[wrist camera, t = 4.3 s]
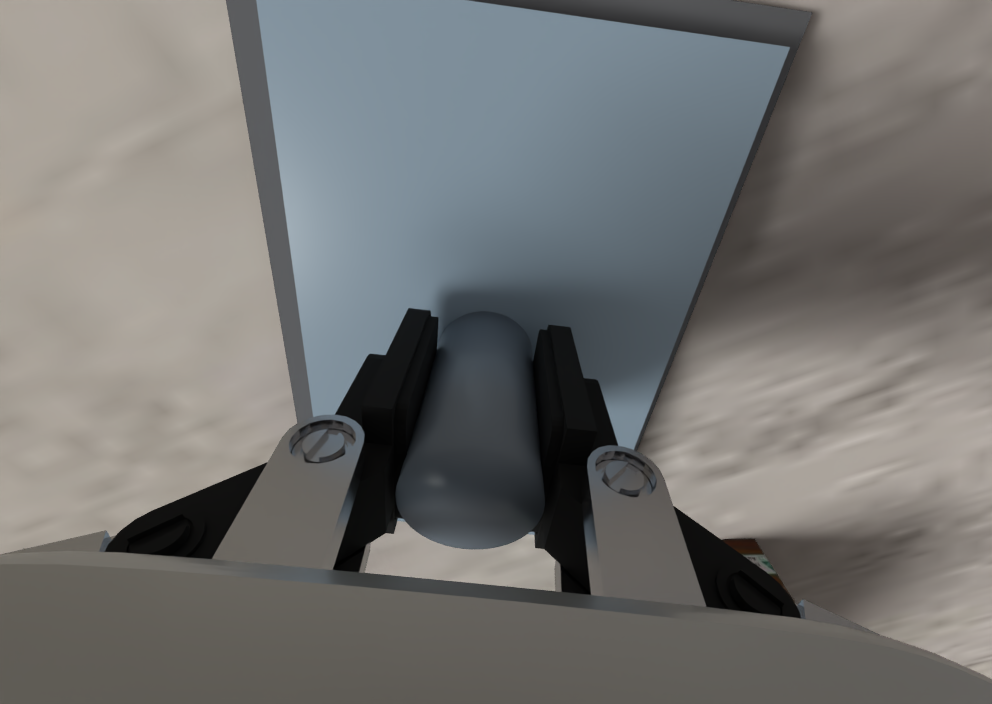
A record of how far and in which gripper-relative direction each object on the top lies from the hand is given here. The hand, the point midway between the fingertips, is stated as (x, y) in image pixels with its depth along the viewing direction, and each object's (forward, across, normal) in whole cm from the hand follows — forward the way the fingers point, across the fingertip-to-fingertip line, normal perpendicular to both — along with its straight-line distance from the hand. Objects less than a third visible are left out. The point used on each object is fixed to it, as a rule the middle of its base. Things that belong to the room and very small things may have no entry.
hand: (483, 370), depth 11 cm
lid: (+2, 0, 0) cm, 2 cm away
